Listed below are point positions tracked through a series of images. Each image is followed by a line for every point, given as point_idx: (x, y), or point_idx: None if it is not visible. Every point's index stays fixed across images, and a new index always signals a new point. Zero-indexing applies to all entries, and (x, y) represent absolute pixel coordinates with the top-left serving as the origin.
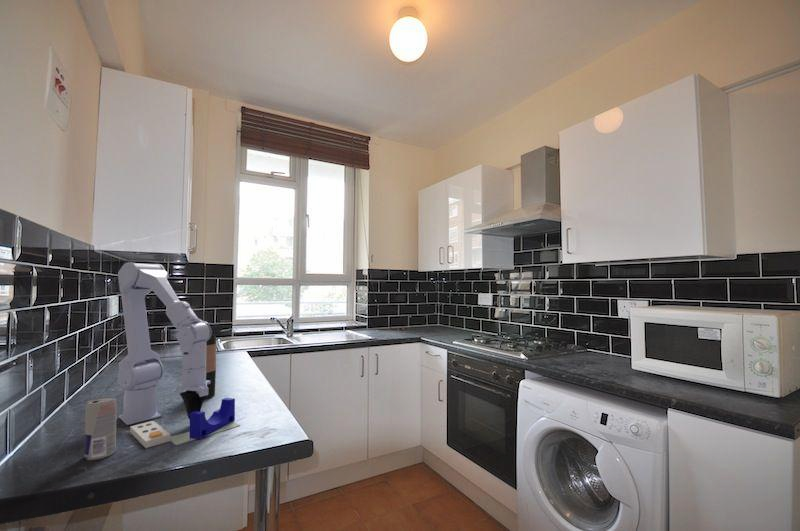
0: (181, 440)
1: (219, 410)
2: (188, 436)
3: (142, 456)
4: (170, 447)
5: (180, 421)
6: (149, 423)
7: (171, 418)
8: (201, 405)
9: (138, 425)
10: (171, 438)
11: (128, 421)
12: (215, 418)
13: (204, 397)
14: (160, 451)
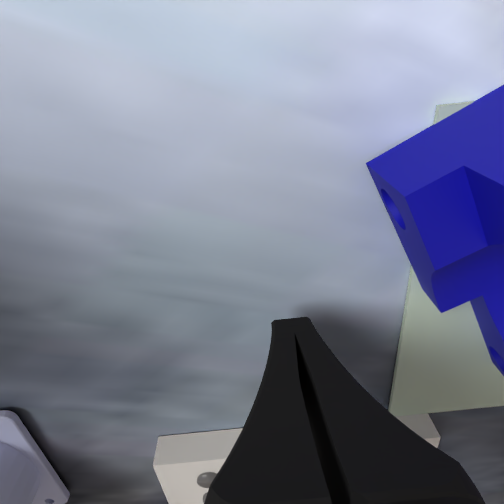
0: (483, 387)
1: (497, 243)
2: (465, 361)
3: (477, 470)
4: (496, 415)
5: (168, 350)
6: (198, 479)
7: (70, 373)
8: (353, 379)
9: (185, 500)
10: (413, 408)
11: (36, 500)
12: (491, 258)
13: (423, 443)
14: (496, 437)
